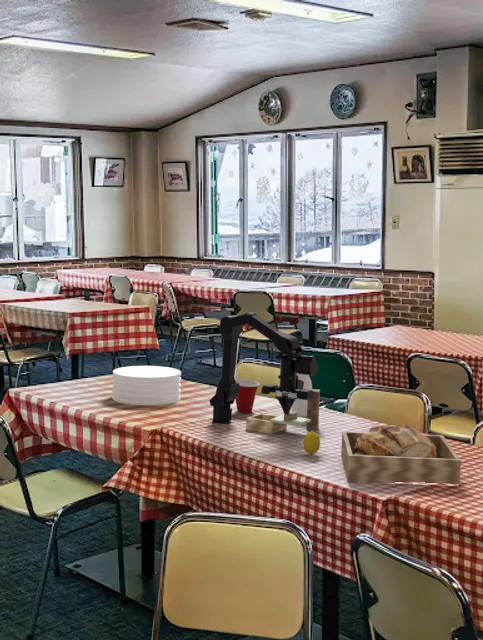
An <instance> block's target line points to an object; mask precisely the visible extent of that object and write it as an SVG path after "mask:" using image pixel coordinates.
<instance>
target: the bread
mask: <svg viewBox="0 0 483 640" xmlns="http://www.w3.org/2000/svg"><path fill="white" fill-rule="evenodd" d="M425 435H426V434H423V433H421V432H420V430H417V429H415V428H414V427H412V426H411V425H408V424H404V425H403V426H398V425H397V424H396V425H395V424H388V425H376V426H372V427H370V428H369V430H368V432H367V433H364V434H362V435H361V436H360V437H359V438H356V443H355V448H354V455H369V456H393V457H417V458H437V451H436V447H435V445H434V444H433V443H432V441H431V440H429V439H428V438H427V437H426V436H425Z"/></svg>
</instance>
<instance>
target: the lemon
mask: <svg viewBox="0 0 483 640" xmlns="http://www.w3.org/2000/svg"><path fill="white" fill-rule="evenodd" d="M320 446H321V440H320V436H319V435H318V434H317V433H316V432H315V431H314V430H313V431H312V430H311V431H309V432H307V433H306V434H305V435H304V437H303V441H302V447H303V449H304V451H305V453H307V454H309V456H313V455H314V454H316V453H317V452H318V451H319V449H320V448H321V447H320Z"/></svg>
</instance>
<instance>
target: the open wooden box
mask: <svg viewBox="0 0 483 640" xmlns="http://www.w3.org/2000/svg"><path fill="white" fill-rule="evenodd" d="M279 416H280V415H273V414H269V413H268V414H267V413H258V414H254V415H252V416H249V417H246V421H245V422H246V423H245V425H246V426H245V430H248V431H254V432H258V433H265V434H270V435H273V434H276V433H279V432H282V431H285V430H287V424H281V423H275V422H270V419H273V418H276V417H279Z"/></svg>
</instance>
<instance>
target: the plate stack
mask: <svg viewBox="0 0 483 640" xmlns="http://www.w3.org/2000/svg"><path fill="white" fill-rule="evenodd" d="M112 375H113V377H112V396H111V397H112V400H113V401H115V402H117V403H119V404H124V405H125V404H126V405H132V406H163V405H171V404H176V403H178V402H179V401H181V393H182V392H181V391H182V390H181V387H182V384H181V382H182V377H181V376H182V372H181V370H179V369H177V368H173V367H167V366H158V365H131V366H121V367H118V368H115V369H113V370H112Z"/></svg>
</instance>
